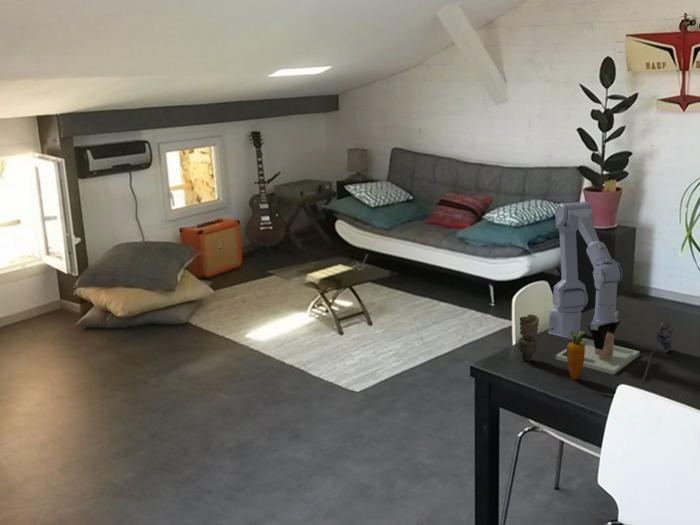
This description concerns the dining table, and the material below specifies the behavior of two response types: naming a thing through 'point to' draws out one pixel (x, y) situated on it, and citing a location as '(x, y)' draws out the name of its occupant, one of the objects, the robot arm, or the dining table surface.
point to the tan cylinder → (606, 346)
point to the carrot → (575, 356)
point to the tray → (603, 358)
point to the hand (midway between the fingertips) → (602, 345)
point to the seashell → (665, 335)
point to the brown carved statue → (528, 336)
